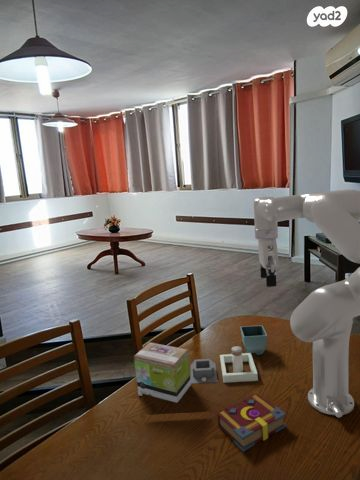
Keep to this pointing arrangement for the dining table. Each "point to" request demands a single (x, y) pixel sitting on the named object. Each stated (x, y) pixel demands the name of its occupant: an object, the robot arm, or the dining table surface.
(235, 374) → the parts tray
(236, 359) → the cylinder
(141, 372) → the tea box
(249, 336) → the flower pot
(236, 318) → the dining table surface
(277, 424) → the decorative book
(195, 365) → the block
